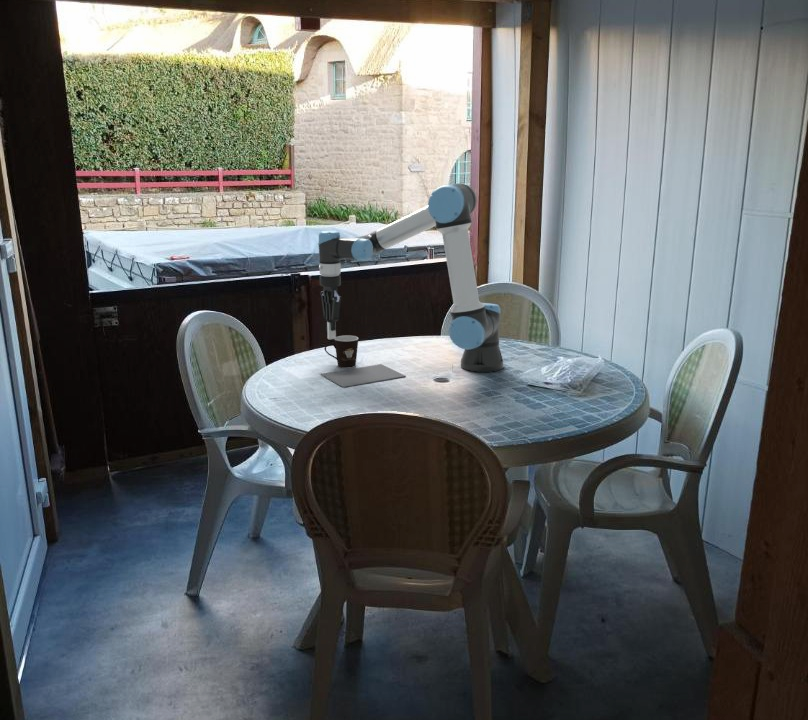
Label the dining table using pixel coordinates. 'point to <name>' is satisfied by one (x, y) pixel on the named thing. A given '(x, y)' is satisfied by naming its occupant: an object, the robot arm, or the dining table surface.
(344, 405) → the dining table surface
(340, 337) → the coffee mug
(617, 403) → the dining table surface
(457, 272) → the robot arm
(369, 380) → the mat
